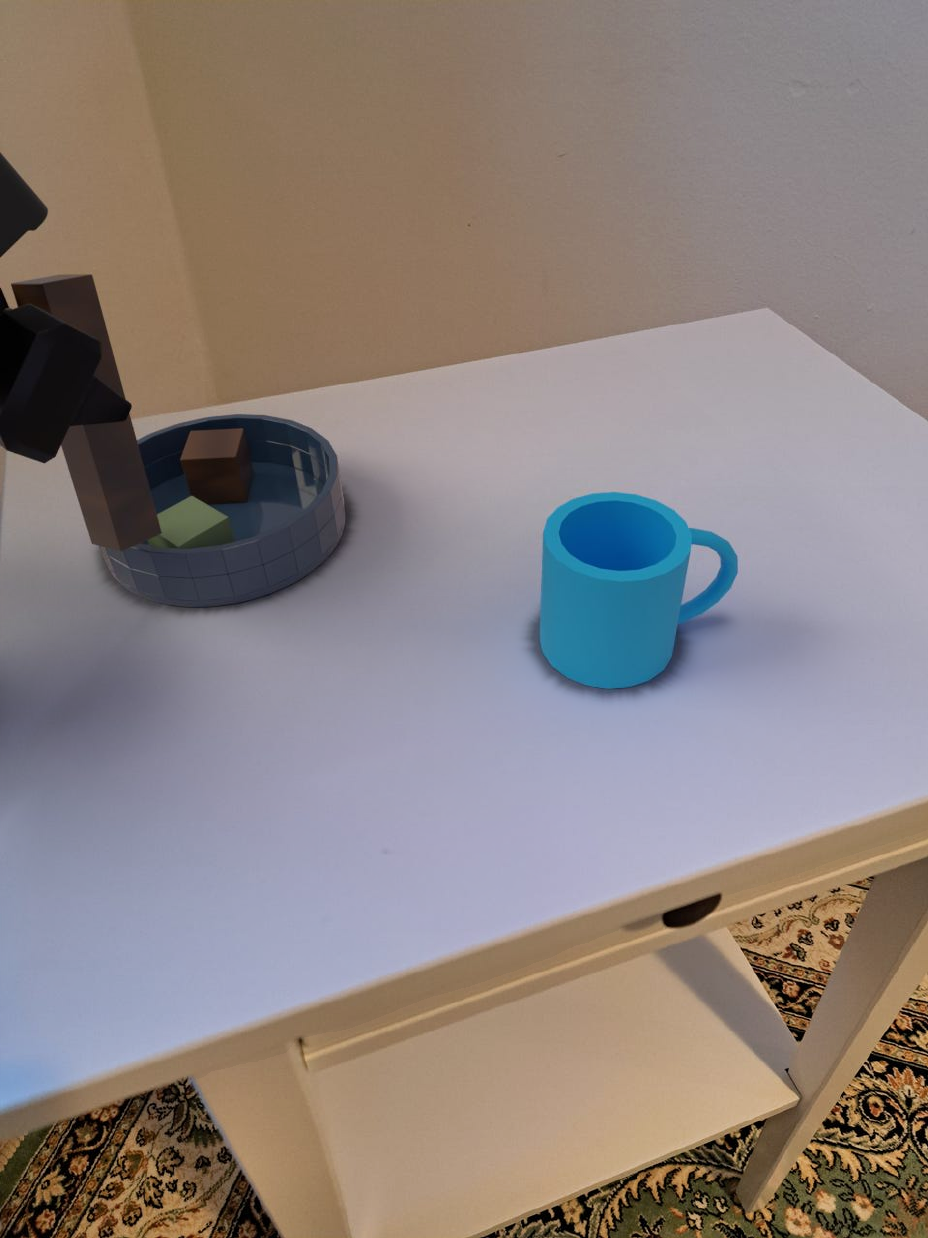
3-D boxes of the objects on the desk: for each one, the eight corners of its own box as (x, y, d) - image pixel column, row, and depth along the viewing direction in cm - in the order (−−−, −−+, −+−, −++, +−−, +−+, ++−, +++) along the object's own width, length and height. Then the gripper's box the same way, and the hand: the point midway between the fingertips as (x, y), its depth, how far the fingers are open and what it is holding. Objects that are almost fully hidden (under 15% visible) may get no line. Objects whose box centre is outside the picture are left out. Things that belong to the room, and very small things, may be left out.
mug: (563, 700, 51) (569, 593, 45) (523, 609, 57) (525, 504, 51) (755, 661, 53) (784, 554, 47) (697, 577, 58) (717, 472, 53)
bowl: (120, 637, 56) (98, 583, 53) (94, 496, 68) (74, 446, 65) (376, 564, 61) (369, 510, 58) (310, 444, 72) (301, 395, 69)
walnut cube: (193, 505, 66) (179, 459, 63) (202, 475, 69) (190, 430, 66) (246, 502, 66) (235, 456, 63) (254, 473, 69) (243, 427, 66)
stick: (121, 552, 52) (42, 283, 45) (91, 543, 54) (9, 283, 47) (162, 533, 54) (92, 273, 47) (132, 526, 56) (60, 274, 49)
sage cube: (157, 570, 60) (141, 522, 57) (205, 542, 62) (191, 495, 59) (193, 594, 58) (177, 546, 55) (241, 564, 60) (228, 516, 57)
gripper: (-28, 122, 32) (270, 317, 45) (-197, 62, 42) (88, 237, 55) (-148, 399, 33) (176, 511, 46) (-285, 277, 43) (15, 398, 56)
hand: (110, 401), depth 51 cm, fingers closed on stick, 3 cm apart
